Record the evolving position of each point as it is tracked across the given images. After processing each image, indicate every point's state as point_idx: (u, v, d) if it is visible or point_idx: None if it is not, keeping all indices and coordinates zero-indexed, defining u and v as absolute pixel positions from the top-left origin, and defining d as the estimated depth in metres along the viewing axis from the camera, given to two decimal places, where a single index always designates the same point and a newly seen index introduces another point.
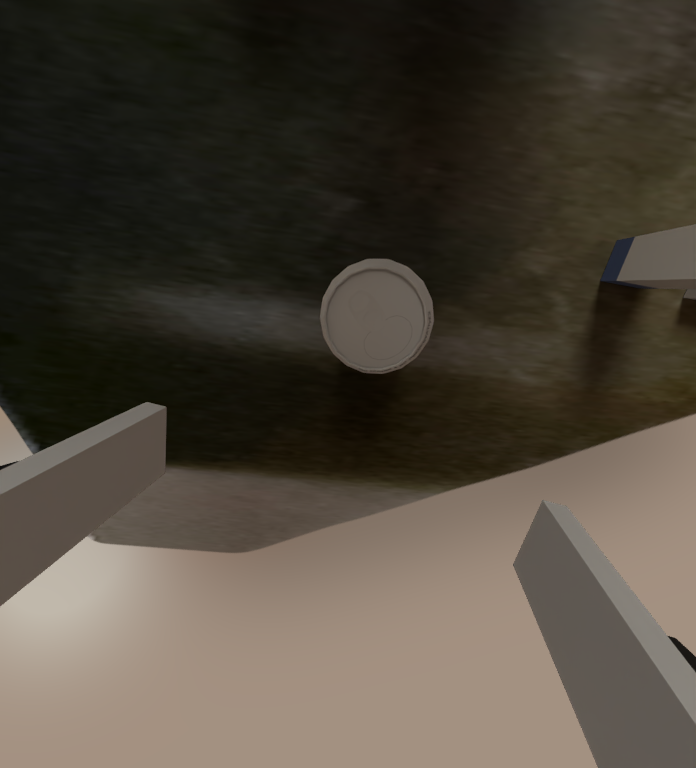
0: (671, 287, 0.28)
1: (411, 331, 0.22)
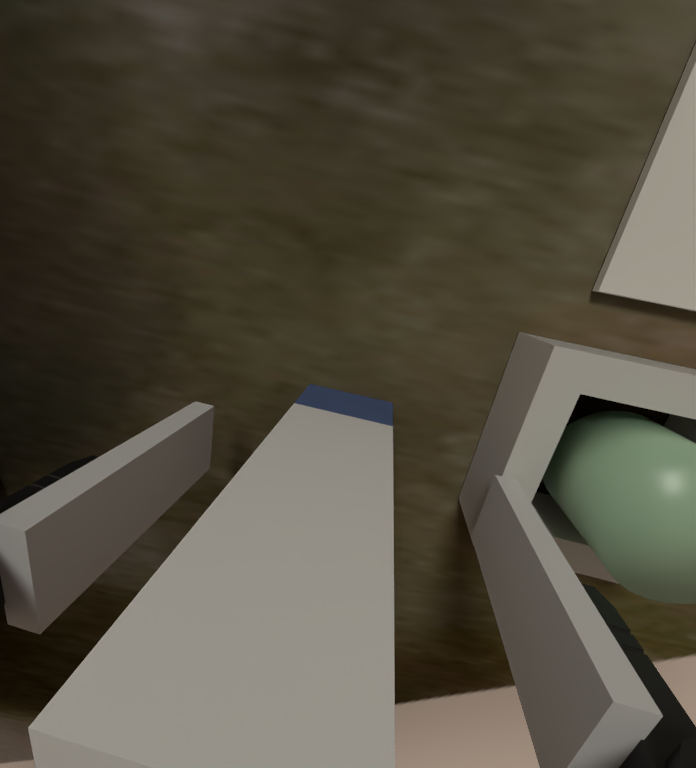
0: None
1: None
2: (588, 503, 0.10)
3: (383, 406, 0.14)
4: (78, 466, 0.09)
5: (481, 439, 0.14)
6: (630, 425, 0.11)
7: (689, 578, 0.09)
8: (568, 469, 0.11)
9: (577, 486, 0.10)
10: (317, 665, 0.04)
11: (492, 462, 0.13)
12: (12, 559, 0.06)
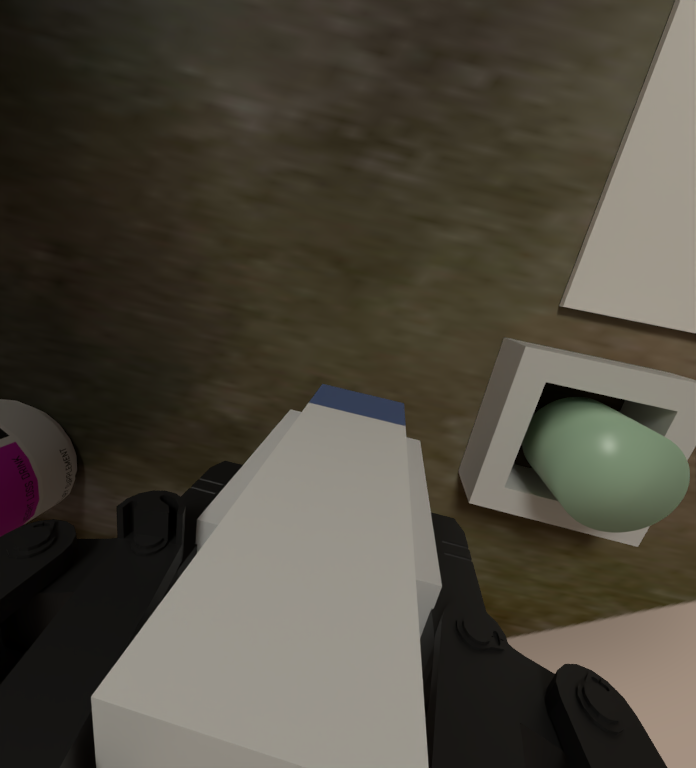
0: None
1: None
2: (550, 460, 0.13)
3: (395, 406, 0.14)
4: (219, 470, 0.10)
5: (476, 422, 0.18)
6: (584, 405, 0.14)
7: (621, 512, 0.13)
8: (538, 439, 0.15)
9: (544, 450, 0.14)
10: (349, 649, 0.05)
11: (483, 437, 0.16)
12: None
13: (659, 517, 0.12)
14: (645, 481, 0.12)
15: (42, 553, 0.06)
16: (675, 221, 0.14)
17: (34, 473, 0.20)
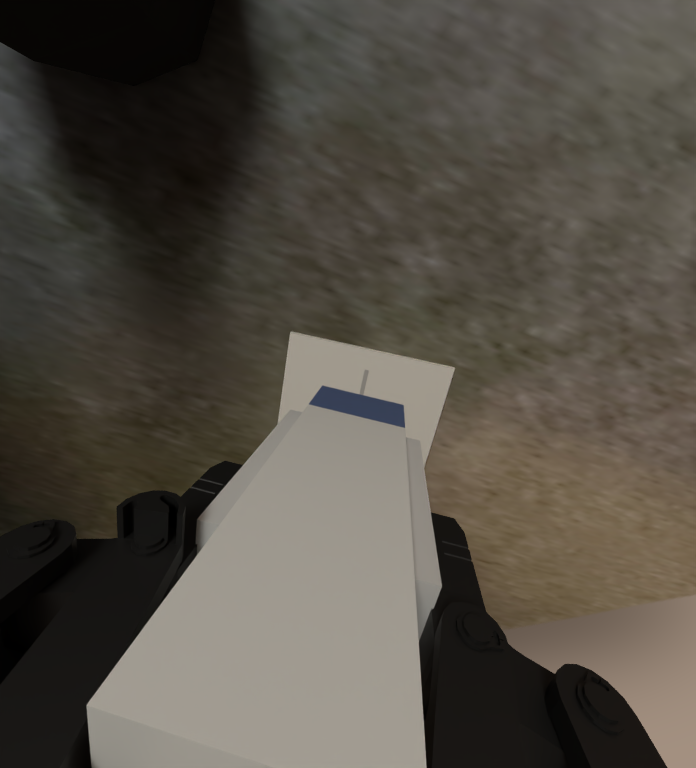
0: None
1: None
2: None
3: (395, 408, 0.14)
4: (219, 470, 0.10)
5: None
6: None
7: None
8: None
9: None
10: (348, 655, 0.05)
11: None
12: None
13: None
14: None
15: (42, 553, 0.06)
16: None
17: None
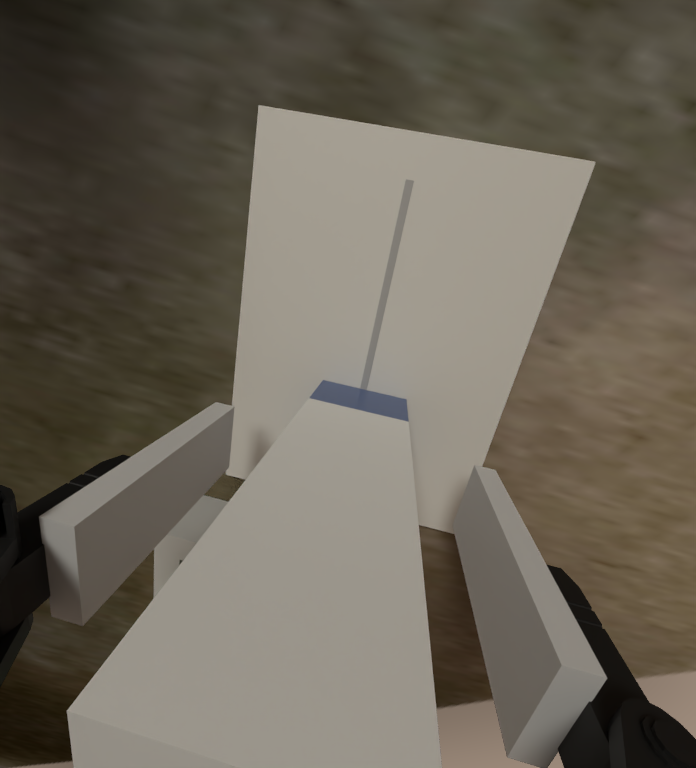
0: None
1: None
2: None
3: (397, 402, 0.14)
4: (110, 465, 0.09)
5: None
6: None
7: None
8: None
9: None
10: (354, 655, 0.04)
11: None
12: (60, 554, 0.06)
13: None
14: None
15: None
16: (295, 413, 0.15)
17: None
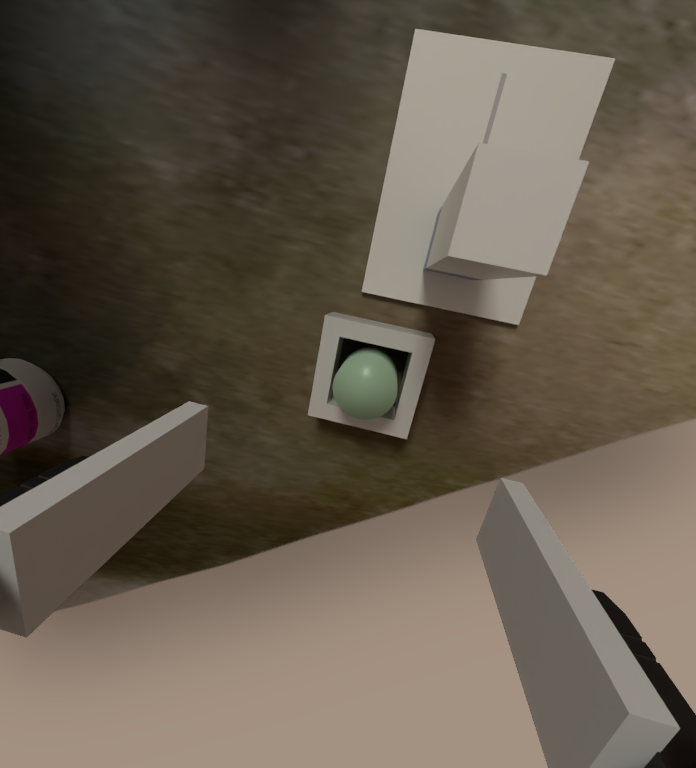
0: (482, 277, 0.19)
1: None
2: None
3: None
4: (68, 466, 0.09)
5: None
6: (363, 350, 0.24)
7: (368, 407, 0.22)
8: None
9: None
10: None
11: None
12: None
13: (387, 409, 0.22)
14: (376, 388, 0.22)
15: None
16: (415, 240, 0.24)
17: (34, 406, 0.29)
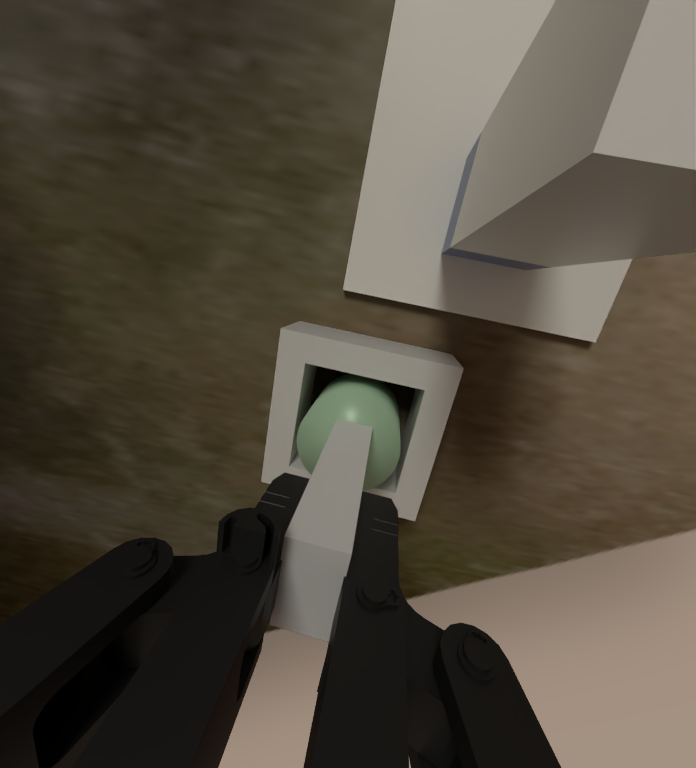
0: (563, 260, 0.10)
1: None
2: None
3: None
4: (282, 483, 0.10)
5: None
6: (346, 380, 0.16)
7: None
8: None
9: None
10: None
11: None
12: (296, 569, 0.07)
13: (384, 477, 0.14)
14: None
15: (144, 576, 0.06)
16: (429, 204, 0.14)
17: None
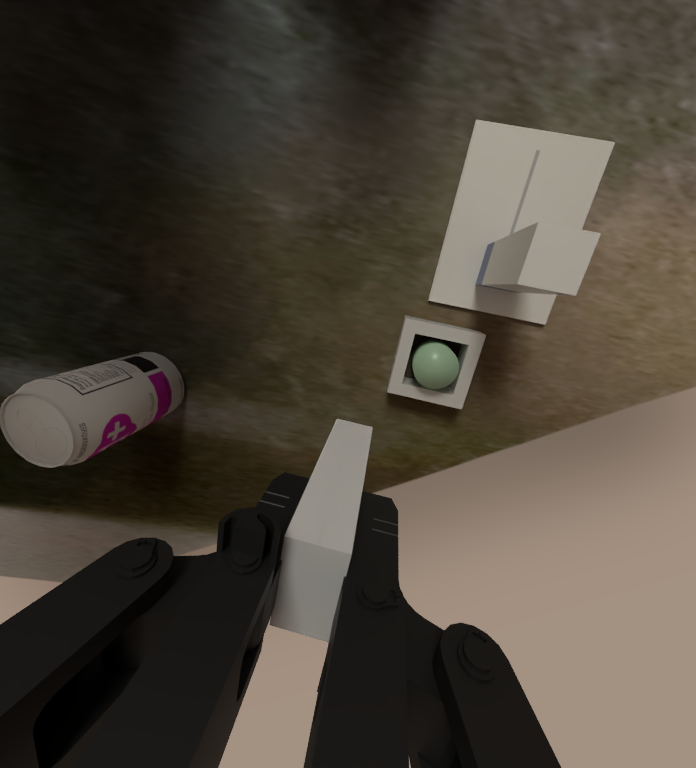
0: (524, 291, 0.28)
1: (66, 439, 0.28)
2: (413, 362, 0.33)
3: None
4: (282, 483, 0.10)
5: (394, 357, 0.37)
6: (430, 341, 0.34)
7: (437, 380, 0.32)
8: (413, 356, 0.34)
9: (413, 359, 0.34)
10: None
11: None
12: (296, 569, 0.07)
13: (451, 381, 0.32)
14: (444, 366, 0.32)
15: (144, 576, 0.06)
16: (470, 263, 0.33)
17: (170, 388, 0.38)
